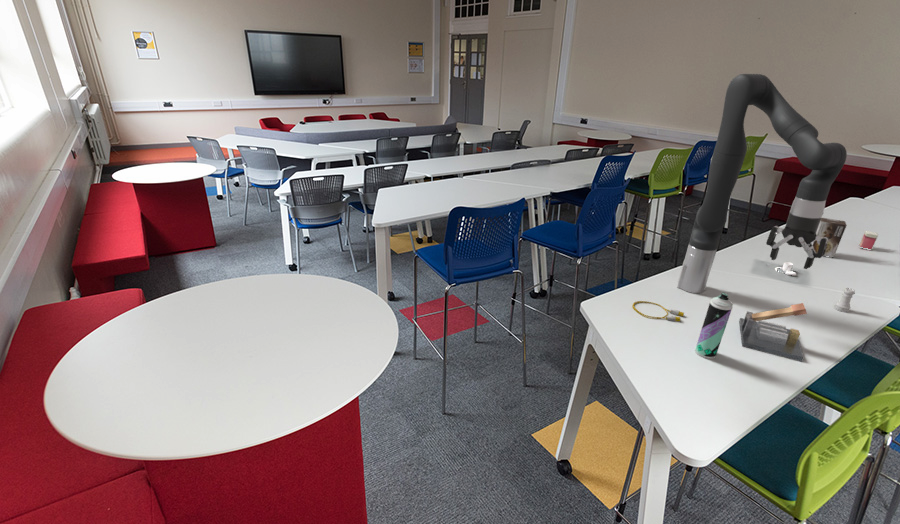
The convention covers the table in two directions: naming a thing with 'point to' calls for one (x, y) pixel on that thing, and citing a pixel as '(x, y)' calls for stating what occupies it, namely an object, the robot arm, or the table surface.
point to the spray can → (714, 326)
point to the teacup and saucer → (787, 268)
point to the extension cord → (670, 318)
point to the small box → (868, 239)
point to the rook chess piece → (845, 300)
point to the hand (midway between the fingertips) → (789, 263)
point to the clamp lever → (778, 313)
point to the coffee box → (830, 234)
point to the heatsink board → (770, 345)
